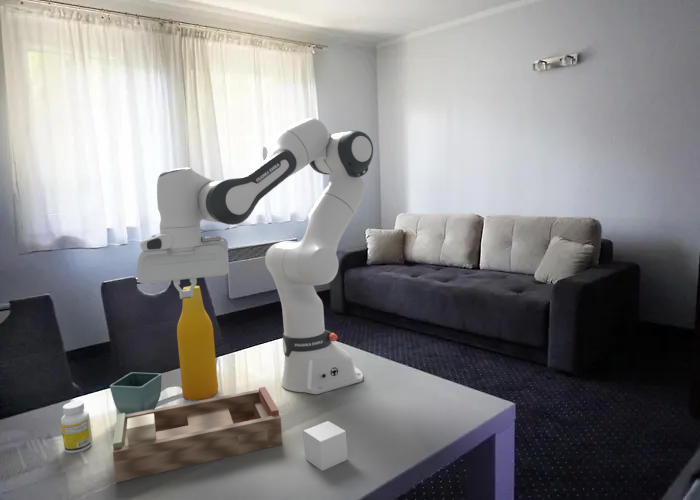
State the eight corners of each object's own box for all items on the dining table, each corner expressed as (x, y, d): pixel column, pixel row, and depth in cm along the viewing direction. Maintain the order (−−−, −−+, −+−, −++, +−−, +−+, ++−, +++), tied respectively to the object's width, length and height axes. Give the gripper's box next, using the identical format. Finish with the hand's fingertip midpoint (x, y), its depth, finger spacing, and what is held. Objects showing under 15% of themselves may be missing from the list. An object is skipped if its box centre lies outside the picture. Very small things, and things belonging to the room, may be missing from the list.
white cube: (305, 459, 101) (303, 430, 100) (329, 448, 105) (327, 420, 104) (322, 471, 96) (320, 441, 96) (347, 459, 100) (345, 430, 99)
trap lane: (265, 412, 123) (263, 384, 122) (282, 444, 107) (280, 412, 106) (121, 441, 112) (117, 411, 111) (116, 482, 96) (112, 447, 95)
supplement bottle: (71, 442, 112) (66, 400, 111) (96, 440, 113) (92, 398, 112) (59, 455, 107) (54, 410, 106) (86, 452, 107) (81, 408, 106)
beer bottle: (206, 402, 130) (196, 291, 127) (175, 399, 133) (164, 290, 129) (225, 388, 139) (216, 284, 135) (195, 385, 142) (186, 283, 138)
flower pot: (145, 423, 120) (141, 386, 119) (112, 421, 122) (108, 385, 121) (165, 407, 129) (162, 373, 127) (134, 405, 130) (131, 372, 129)
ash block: (156, 436, 105) (153, 413, 104) (156, 447, 100) (154, 423, 100) (129, 441, 103) (127, 418, 102) (129, 453, 98) (126, 428, 98)
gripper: (225, 234, 124) (229, 290, 125) (134, 241, 116) (140, 300, 118) (229, 236, 118) (233, 295, 119) (133, 243, 111) (139, 306, 112)
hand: (186, 297), depth 119 cm, fingers closed
